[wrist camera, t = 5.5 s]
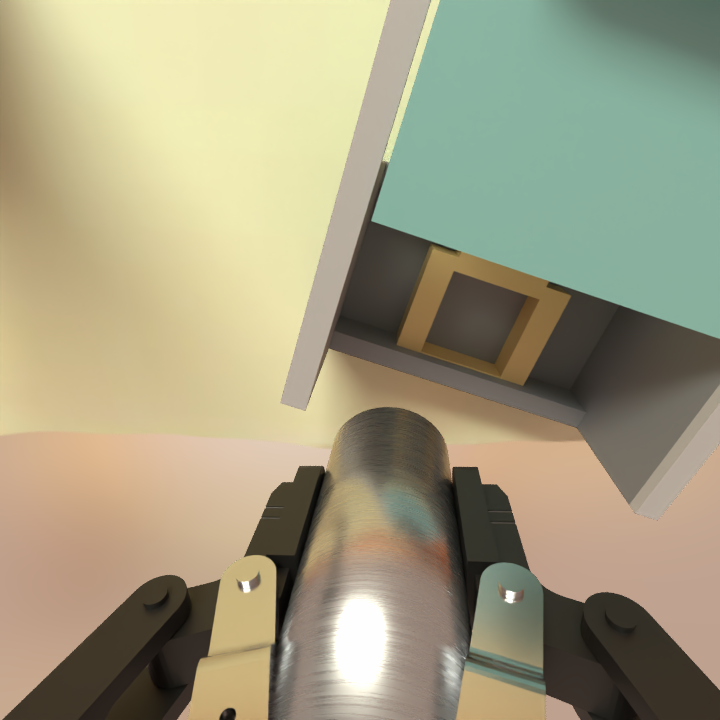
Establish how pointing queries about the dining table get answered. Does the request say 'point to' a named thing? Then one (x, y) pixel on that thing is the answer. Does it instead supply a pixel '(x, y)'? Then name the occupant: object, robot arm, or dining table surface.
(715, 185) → the lid
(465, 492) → the robot arm
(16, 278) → the dining table surface
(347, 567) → the pin
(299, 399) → the housing
